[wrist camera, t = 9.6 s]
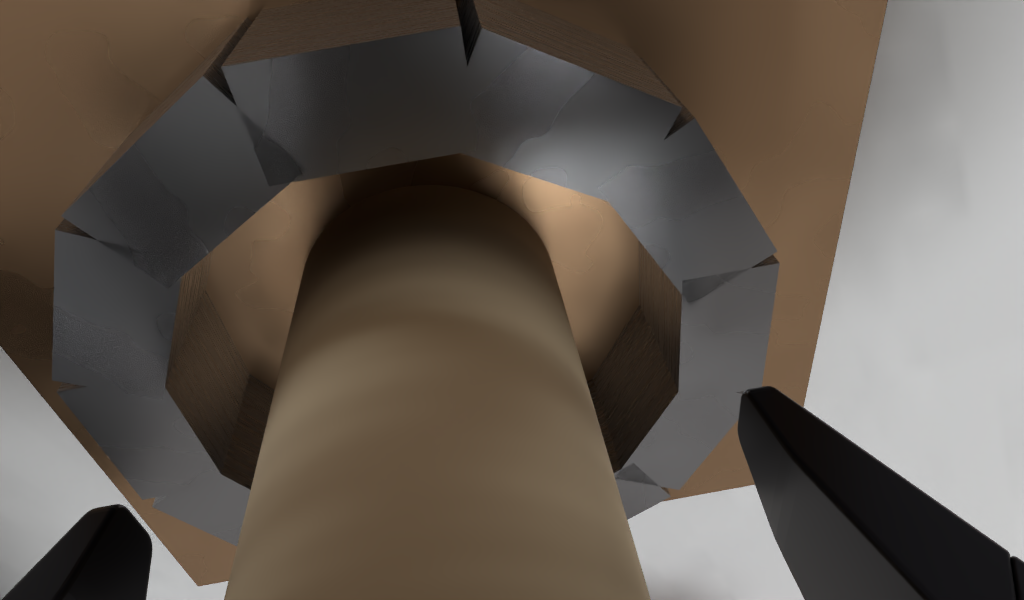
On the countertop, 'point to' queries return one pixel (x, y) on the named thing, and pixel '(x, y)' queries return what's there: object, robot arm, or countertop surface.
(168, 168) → the brown board with ring
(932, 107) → the countertop surface
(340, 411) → the cylinder
